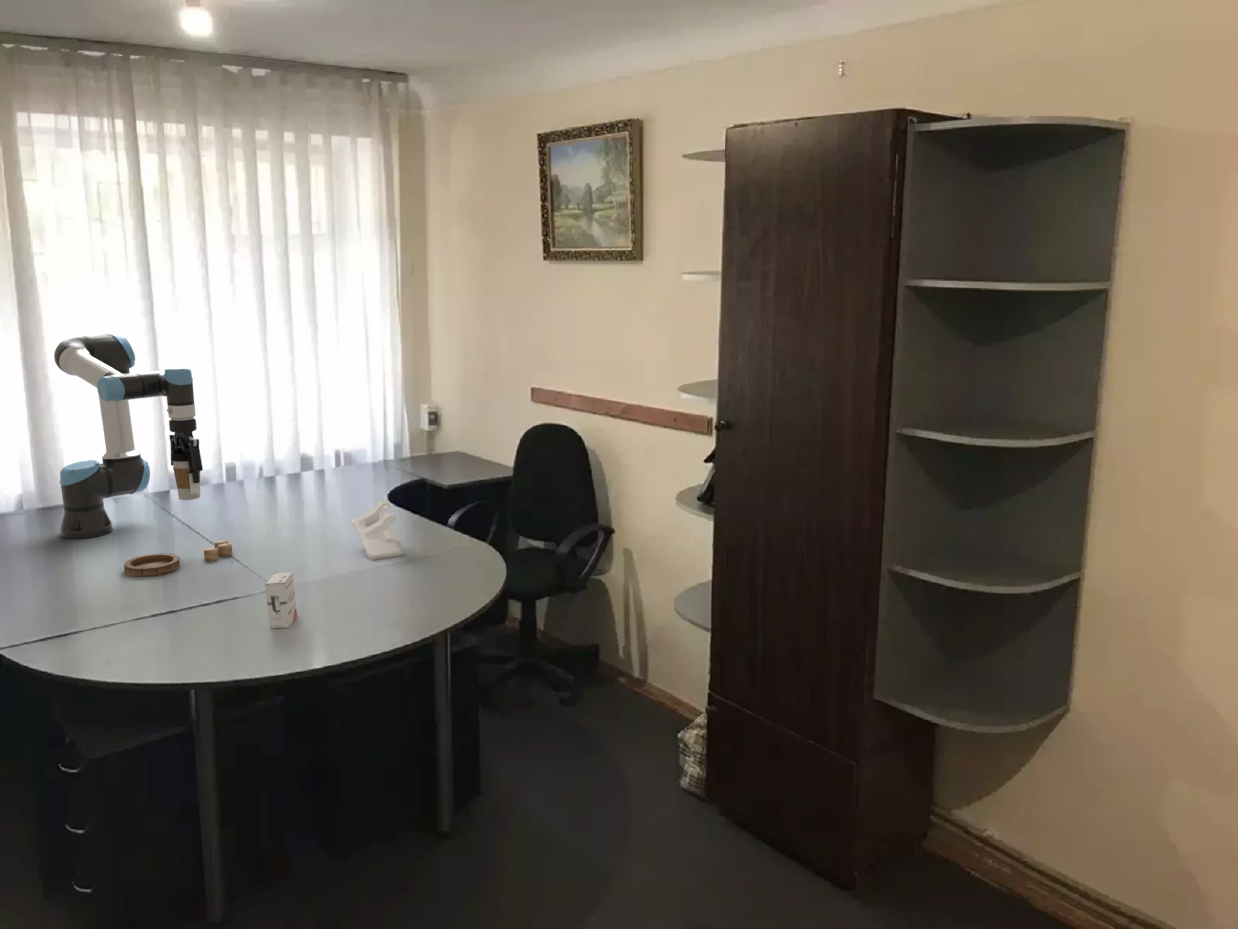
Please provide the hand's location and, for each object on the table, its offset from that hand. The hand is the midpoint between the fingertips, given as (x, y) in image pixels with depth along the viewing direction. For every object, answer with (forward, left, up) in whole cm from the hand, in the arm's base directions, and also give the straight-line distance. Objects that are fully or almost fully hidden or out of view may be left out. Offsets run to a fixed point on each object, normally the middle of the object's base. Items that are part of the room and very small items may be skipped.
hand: (188, 490), depth 297 cm
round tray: (+8, -17, -19) cm, 27 cm away
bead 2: (+7, +5, -19) cm, 21 cm away
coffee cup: (0, 0, -2) cm, 2 cm away
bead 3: (+11, +4, -19) cm, 23 cm away
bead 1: (+12, -1, -19) cm, 23 cm away
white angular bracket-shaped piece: (+44, +38, -19) cm, 61 cm away
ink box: (+75, -15, -19) cm, 79 cm away
